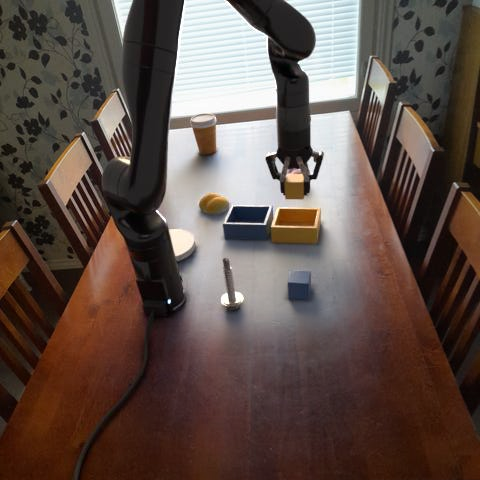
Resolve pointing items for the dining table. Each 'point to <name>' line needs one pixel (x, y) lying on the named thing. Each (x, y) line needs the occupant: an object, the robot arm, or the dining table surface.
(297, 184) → the ochre block
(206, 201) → the bread roll
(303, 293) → the blue block
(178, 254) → the plastic lid
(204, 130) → the disposable coffee cup
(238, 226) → the blue bin
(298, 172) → the pink flower bud
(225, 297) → the screw
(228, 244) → the dining table surface
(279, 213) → the ochre bin
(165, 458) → the dining table surface
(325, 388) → the dining table surface
